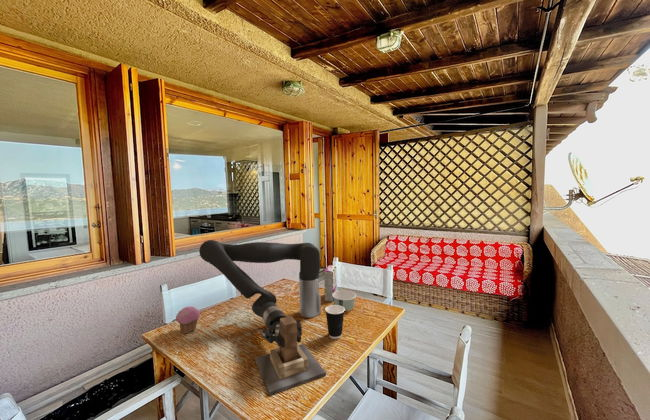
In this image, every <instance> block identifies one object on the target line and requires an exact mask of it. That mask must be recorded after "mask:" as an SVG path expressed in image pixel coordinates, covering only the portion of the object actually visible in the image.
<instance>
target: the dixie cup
mask: <svg viewBox="0 0 650 420" xmlns="http://www.w3.org/2000/svg"><path fill="white" fill-rule="evenodd" d="M324 311H325V315H326V322H327V324H326V325H327V331H328V335H329V338H330V339H332V340H338V339H340V338H341V337H342V335H343V325H344V318H345V312H344V311H345V308H344V307H342V306H340V305H334V304H330V305H327V306H326V307H325V308H324Z"/></svg>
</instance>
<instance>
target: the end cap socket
mask: <svg viewBox="0 0 650 420" xmlns="http://www.w3.org/2000/svg"><path fill="white" fill-rule="evenodd" d="M298 344H299V343H297V360H293V361H290V362H287V363H284V364H283V363H282V361H281V353H280V347H276V348H273V349H270V350H269V353H267V354H263V355H260V356H256V357H254V361H255V364H256V366H257V369H258V371H259V374H260V375H261V378H262V382H263V383H264V386H265V388H266V390H267V394H268V395H269V397H270V396H272V395H275V394H278V393H281V392H284V391H286V390H290V389H292V388H295V387H298V386H300V385H303V384H306V383H309V382H312V381H314V380H317V379H319V378H323V377H326V376H327V371H325V369H324V368H323V366H322V365H321V364H320V363H319V362H318V360H317V359H316V358H315V357H314V354H312V353H311V351H310V350H309V348H307V346H306V345H305V344H304V343H302V344H299V345H298Z"/></svg>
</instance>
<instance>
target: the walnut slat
mask: <svg viewBox="0 0 650 420" xmlns="http://www.w3.org/2000/svg"><path fill="white" fill-rule="evenodd" d="M296 321H297V320H296V319H295V318H293V316H292V315H290V316H289V315H288V316H287V317H284V318H280V336H281V338H282V339H283V341H284V347H282V348H281V346H280V347H279V348H280V353H281V361H282V363H283V364H284V363H287V362H290V361H293V360H297V344H298V342H297V322H296Z"/></svg>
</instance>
